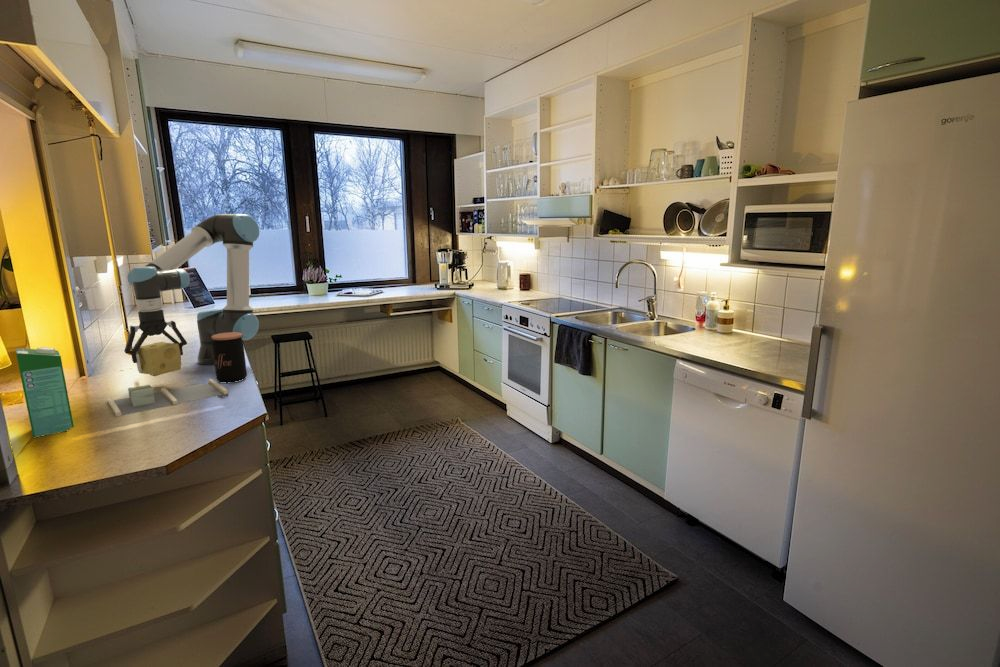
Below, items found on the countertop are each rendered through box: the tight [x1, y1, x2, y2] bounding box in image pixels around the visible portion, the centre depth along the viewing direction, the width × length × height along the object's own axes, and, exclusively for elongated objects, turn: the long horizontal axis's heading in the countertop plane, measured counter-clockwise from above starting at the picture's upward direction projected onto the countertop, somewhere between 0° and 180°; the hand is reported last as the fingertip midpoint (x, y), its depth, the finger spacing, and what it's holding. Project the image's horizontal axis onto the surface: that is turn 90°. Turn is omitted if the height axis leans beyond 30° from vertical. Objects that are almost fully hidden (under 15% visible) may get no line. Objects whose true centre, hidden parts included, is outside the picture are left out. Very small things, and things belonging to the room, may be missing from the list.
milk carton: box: [14, 346, 75, 438], centre depth 148 cm, size 9×9×25 cm
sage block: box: [127, 384, 155, 407], centre depth 170 cm, size 6×6×5 cm
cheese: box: [137, 341, 182, 377], centre depth 187 cm, size 10×11×10 cm
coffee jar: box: [211, 332, 248, 384], centre depth 198 cm, size 11×11×18 cm
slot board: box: [106, 378, 229, 417], centre depth 176 cm, size 19×32×2 cm, turn 134°
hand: (160, 367), depth 188 cm, fingers closed on cheese, 12 cm apart
